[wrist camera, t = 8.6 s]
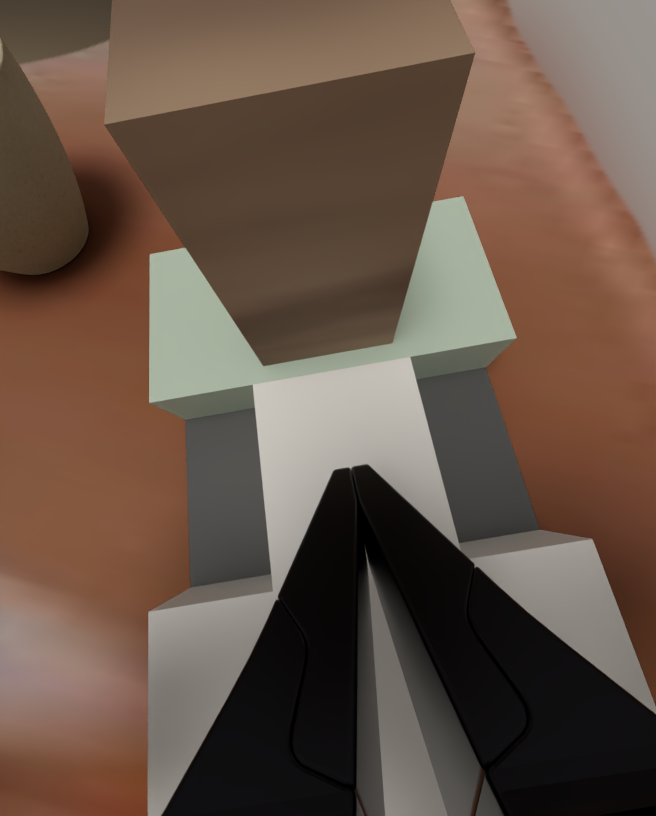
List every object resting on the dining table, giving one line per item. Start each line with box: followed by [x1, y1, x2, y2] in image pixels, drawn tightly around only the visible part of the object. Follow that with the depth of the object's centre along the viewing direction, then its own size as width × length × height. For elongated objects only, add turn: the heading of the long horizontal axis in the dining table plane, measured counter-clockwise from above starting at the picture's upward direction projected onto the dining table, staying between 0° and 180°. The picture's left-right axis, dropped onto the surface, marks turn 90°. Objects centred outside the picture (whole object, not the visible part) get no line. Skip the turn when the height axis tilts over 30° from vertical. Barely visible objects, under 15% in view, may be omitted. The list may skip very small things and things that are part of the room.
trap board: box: [148, 196, 656, 816], centre depth 12 cm, size 21×14×3 cm, turn 9°
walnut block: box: [104, 0, 475, 366], centre depth 9 cm, size 5×5×8 cm
